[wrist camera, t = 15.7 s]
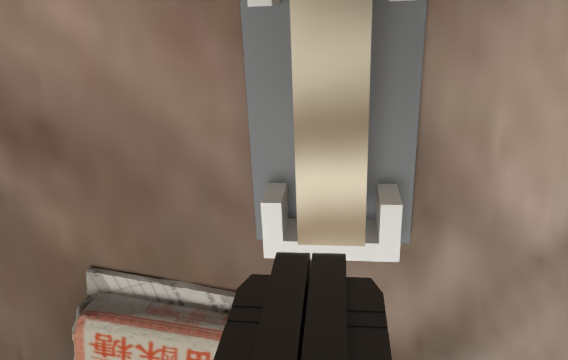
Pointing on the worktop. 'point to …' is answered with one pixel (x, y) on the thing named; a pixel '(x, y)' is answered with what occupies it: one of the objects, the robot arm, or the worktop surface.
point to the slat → (331, 118)
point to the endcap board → (381, 135)
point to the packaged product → (148, 318)
